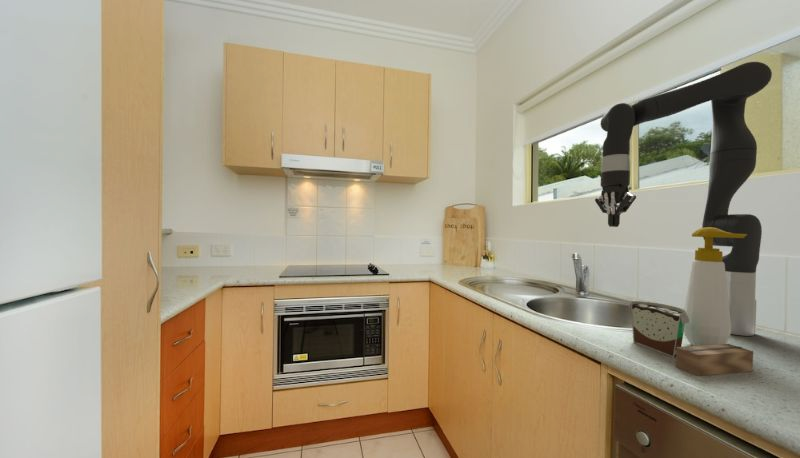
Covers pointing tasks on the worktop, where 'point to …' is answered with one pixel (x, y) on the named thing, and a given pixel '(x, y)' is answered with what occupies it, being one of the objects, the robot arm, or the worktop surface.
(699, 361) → the timber batten
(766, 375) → the worktop surface
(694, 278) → the soap bottle
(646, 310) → the food container
